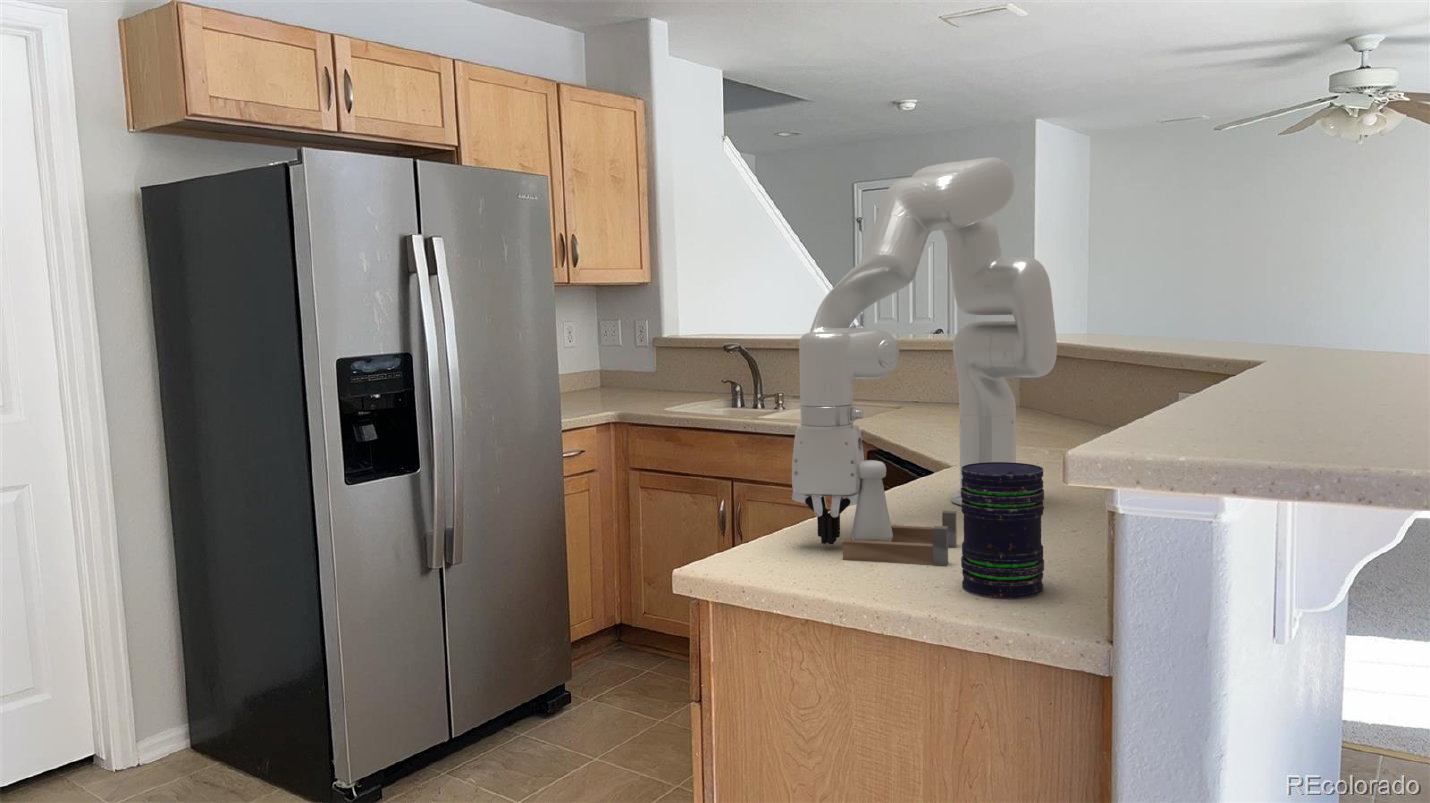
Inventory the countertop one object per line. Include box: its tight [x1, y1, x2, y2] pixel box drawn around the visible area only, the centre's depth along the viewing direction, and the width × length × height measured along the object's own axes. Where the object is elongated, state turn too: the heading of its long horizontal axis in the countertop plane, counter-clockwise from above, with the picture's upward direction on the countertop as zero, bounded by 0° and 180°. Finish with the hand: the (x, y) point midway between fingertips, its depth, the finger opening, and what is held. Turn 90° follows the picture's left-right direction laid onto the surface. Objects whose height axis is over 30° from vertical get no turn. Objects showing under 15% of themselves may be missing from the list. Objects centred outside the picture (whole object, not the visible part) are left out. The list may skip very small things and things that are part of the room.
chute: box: [842, 510, 958, 567], centre depth 143 cm, size 12×14×5 cm
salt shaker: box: [851, 459, 893, 542], centre depth 144 cm, size 6×6×13 cm
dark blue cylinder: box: [960, 462, 1045, 600], centre depth 124 cm, size 10×10×15 cm
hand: (829, 541), depth 147 cm, fingers closed
